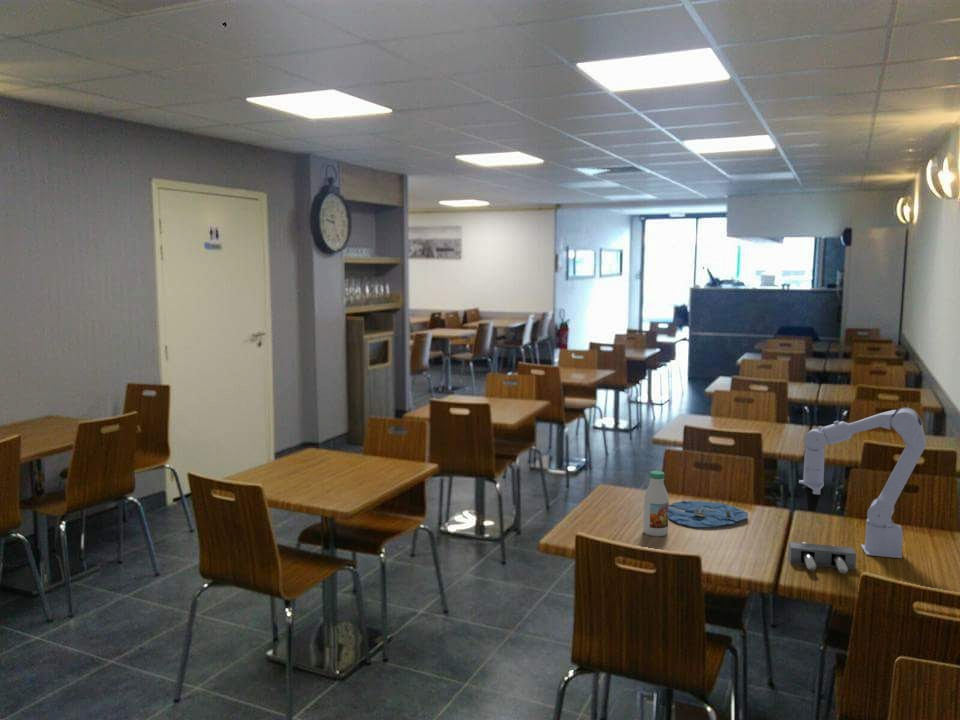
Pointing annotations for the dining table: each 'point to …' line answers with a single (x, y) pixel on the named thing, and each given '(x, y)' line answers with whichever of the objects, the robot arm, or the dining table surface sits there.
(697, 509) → the decorative plate
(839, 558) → the pin
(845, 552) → the block
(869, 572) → the dining table surface
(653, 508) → the milk bottle
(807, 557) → the pin
